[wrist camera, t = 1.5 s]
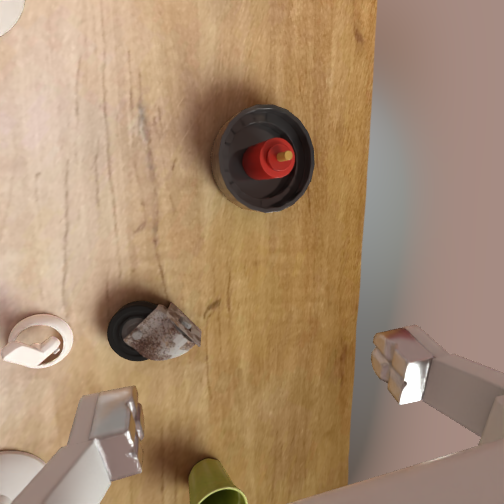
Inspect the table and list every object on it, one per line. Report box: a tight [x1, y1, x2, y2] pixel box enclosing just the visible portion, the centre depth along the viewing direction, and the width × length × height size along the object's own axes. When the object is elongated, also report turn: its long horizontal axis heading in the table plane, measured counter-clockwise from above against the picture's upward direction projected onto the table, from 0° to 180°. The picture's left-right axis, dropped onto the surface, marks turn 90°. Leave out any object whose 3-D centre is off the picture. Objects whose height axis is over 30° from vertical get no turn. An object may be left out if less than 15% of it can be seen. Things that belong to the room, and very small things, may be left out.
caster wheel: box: [107, 301, 201, 361], centre depth 49 cm, size 7×11×10 cm
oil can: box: [242, 138, 295, 180], centre depth 48 cm, size 5×5×10 cm
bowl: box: [211, 104, 314, 213], centre depth 51 cm, size 15×15×5 cm
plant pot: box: [188, 458, 248, 504], centre depth 55 cm, size 9×9×9 cm
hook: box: [1, 314, 73, 368], centre depth 42 cm, size 8×12×7 cm
